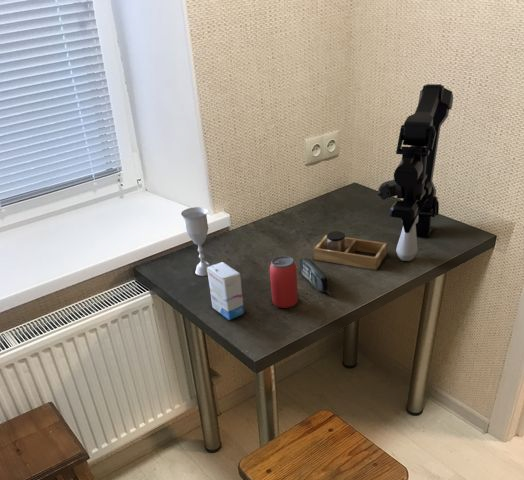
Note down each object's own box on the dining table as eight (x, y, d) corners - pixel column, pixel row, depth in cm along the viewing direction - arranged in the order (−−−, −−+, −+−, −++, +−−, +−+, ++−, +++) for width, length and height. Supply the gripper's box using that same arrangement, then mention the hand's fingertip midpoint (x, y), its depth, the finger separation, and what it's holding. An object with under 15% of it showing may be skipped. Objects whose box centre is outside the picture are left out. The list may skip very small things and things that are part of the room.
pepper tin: (330, 249, 166) (330, 230, 162) (347, 252, 164) (347, 232, 160) (324, 257, 163) (324, 237, 159) (341, 260, 161) (341, 240, 157)
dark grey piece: (297, 258, 154) (323, 281, 142) (307, 255, 155) (334, 277, 143) (298, 274, 157) (324, 297, 145) (308, 271, 158) (334, 294, 146)
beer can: (271, 296, 148) (267, 256, 141) (296, 294, 148) (294, 253, 141) (273, 310, 143) (270, 269, 135) (299, 307, 143) (297, 265, 136)
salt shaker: (416, 263, 154) (421, 219, 146) (395, 262, 156) (398, 218, 148) (417, 252, 159) (422, 209, 151) (396, 251, 160) (400, 208, 152)
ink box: (245, 313, 143) (241, 272, 136) (229, 321, 141) (223, 280, 133) (227, 300, 149) (222, 260, 141) (211, 307, 146) (205, 267, 139)
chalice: (220, 266, 163) (211, 208, 152) (211, 278, 158) (201, 218, 147) (197, 264, 166) (187, 206, 155) (187, 275, 161) (176, 216, 150)
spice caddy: (326, 245, 169) (326, 234, 166) (386, 254, 161) (387, 243, 159) (314, 259, 162) (313, 248, 160) (376, 270, 155) (376, 258, 152)
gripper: (393, 157, 152) (389, 211, 161) (371, 183, 139) (369, 240, 149) (434, 160, 147) (429, 216, 157) (416, 187, 135) (411, 246, 144)
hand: (409, 229), depth 152 cm, fingers closed on salt shaker, 4 cm apart
